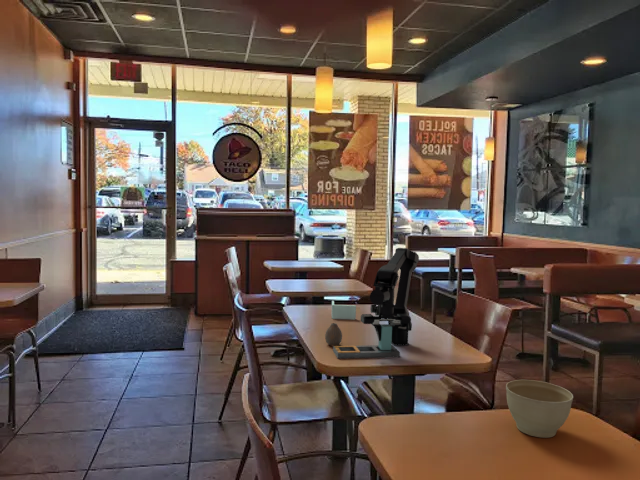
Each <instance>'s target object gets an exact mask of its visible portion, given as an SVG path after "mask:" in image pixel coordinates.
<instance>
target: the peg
mask: <svg viewBox="0 0 640 480" xmlns="http://www.w3.org/2000/svg"><path fill="white" fill-rule="evenodd" d="M379 324H380V325H381V340H380V341H379V340H378V344H377V345H378V347H379V348H380V349H381V350H391V345H392V343H391V342H392V326H390V325H389V324H388V323H387V324H386V323H385V324H383V323H382V324H381V323H379Z"/></svg>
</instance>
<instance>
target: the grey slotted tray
mask: <svg viewBox="0 0 640 480" xmlns="http://www.w3.org/2000/svg"><path fill="white" fill-rule="evenodd" d="M332 351H333V354H334V355H335V356H336V358H337V359H339V360H340V359H376V358H377V359H381V358H382V359H383V358H389V359H390V358H400V357H401V356H400V355H401V351H399V350H398V349H397V348H396V347H395V345H393V344H391V350H381V349H380V348H379V347H378V344H377V345H376V344H375V345H374V344H373V345H372V344H371V345H369V344H367V345H338V346H332Z"/></svg>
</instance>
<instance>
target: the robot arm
mask: <svg viewBox="0 0 640 480" xmlns="http://www.w3.org/2000/svg"><path fill="white" fill-rule="evenodd" d="M394 252H395V253H394V254H393V255H392V256H391V258H390V260H389V261H388V263H387V264H384V265H382V266H381V267H380V268H379V269H378V271H376V275H375V279H374V282H373V287H374V289H373V290H372V291H371V292H370V294H369V300H370V302H371V303H372V304H370V313H362V314H361V315H360V322H361V323H362V324H363V325H372V327H374V329H375V332H376V334H377V335H376V336H377V339H378V342H379V341H380V340H381V325H380V324H381V323H380V322H387V324H389V325H390V326H392V342H391V345H393V346H409V345H410V343H409V332H410V331H412V328H413V327H412V326H413V323H412V318H411V315H410V311H409V310H408V307H407V306H408V298H409V292H410V286H411V281H412V280H411V279H412V273H413V272H415V270H416V269H417V266H418V263H419V260H420V256H419V254H418V253H417V252H416V251H413V250H410V249H409V248H407V247H406V248H404V247H398V248H396V249H395V251H394ZM399 270H400V271H399ZM399 272H400V273H399ZM397 284H398V285H397ZM396 286H397V292H396V299H395V288H396ZM372 313H373V314H374V315H373V314H372Z"/></svg>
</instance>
